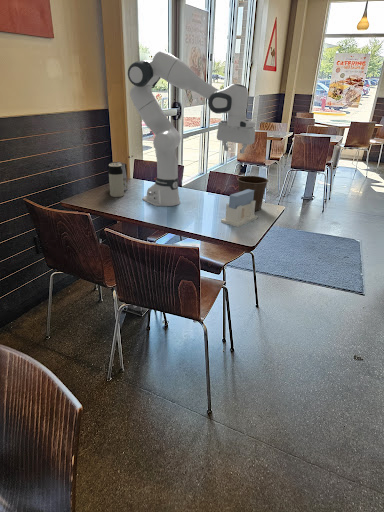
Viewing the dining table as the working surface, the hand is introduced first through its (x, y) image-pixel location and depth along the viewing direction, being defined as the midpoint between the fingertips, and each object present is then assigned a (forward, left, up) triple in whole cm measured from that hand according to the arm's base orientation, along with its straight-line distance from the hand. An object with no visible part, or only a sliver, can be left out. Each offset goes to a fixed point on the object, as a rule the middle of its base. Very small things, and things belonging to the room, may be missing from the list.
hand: (233, 151), depth 170 cm
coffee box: (-74, -14, -31) cm, 82 cm away
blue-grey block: (+11, -6, -23) cm, 26 cm away
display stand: (+11, -6, -31) cm, 33 cm away
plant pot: (+4, +14, -31) cm, 35 cm away
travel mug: (-64, -24, -31) cm, 75 cm away
